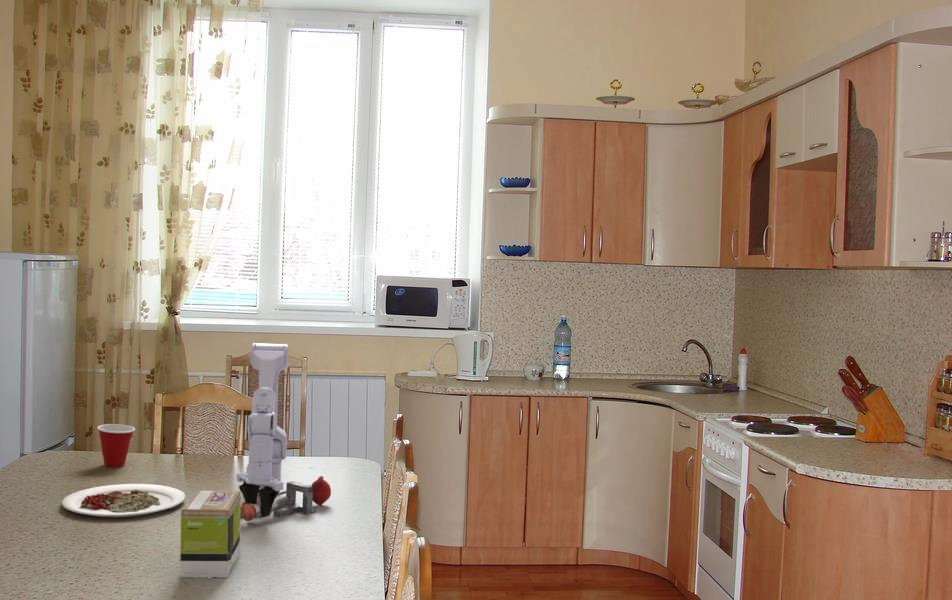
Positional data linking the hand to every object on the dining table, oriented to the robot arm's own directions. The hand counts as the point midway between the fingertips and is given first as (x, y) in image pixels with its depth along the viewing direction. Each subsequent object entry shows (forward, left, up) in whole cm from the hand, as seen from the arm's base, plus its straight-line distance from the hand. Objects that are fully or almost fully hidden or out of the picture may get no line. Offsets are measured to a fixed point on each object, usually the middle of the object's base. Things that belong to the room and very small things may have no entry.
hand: (258, 514), depth 228 cm
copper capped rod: (0, +3, -1) cm, 3 cm away
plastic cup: (-75, +12, -2) cm, 76 cm away
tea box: (+16, -29, -2) cm, 33 cm away
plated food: (-37, -12, -2) cm, 39 cm away
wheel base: (-9, +5, -2) cm, 10 cm away
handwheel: (-9, +5, -2) cm, 10 cm away
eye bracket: (0, +11, -2) cm, 11 cm away
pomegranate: (+1, +21, -2) cm, 21 cm away
